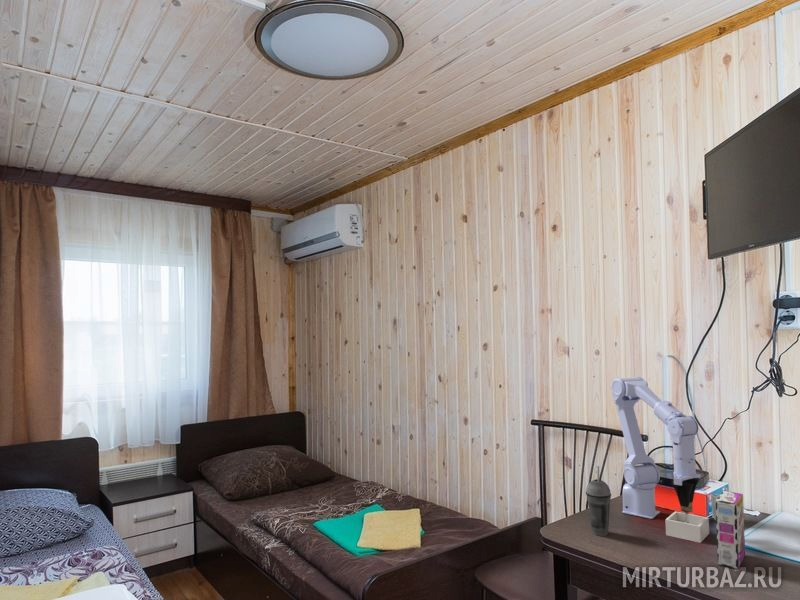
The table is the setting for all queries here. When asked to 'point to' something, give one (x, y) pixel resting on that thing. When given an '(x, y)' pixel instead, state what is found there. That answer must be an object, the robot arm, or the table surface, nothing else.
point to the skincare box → (714, 505)
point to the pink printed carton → (730, 529)
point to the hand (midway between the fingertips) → (686, 504)
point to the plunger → (687, 511)
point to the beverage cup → (598, 505)
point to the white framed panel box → (687, 527)
